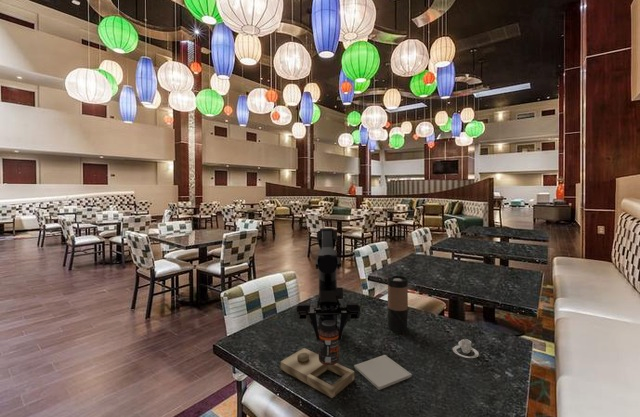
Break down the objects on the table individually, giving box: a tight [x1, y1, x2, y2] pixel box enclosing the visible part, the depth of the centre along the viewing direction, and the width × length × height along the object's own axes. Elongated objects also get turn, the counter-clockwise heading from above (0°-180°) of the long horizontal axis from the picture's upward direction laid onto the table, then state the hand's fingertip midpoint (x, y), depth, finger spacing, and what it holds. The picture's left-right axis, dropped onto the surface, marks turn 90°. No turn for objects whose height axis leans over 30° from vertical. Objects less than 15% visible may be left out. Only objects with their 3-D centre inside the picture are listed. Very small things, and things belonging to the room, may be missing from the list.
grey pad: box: [354, 354, 412, 391], centre depth 93 cm, size 12×12×1 cm
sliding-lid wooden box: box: [280, 347, 355, 399], centre depth 92 cm, size 20×10×4 cm, turn 49°
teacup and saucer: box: [452, 338, 480, 359], centre depth 103 cm, size 9×8×4 cm
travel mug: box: [387, 275, 409, 334], centre depth 120 cm, size 8×8×20 cm
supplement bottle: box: [318, 320, 340, 365], centre depth 88 cm, size 6×6×11 cm
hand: (328, 340), depth 87 cm, fingers closed on supplement bottle, 6 cm apart
